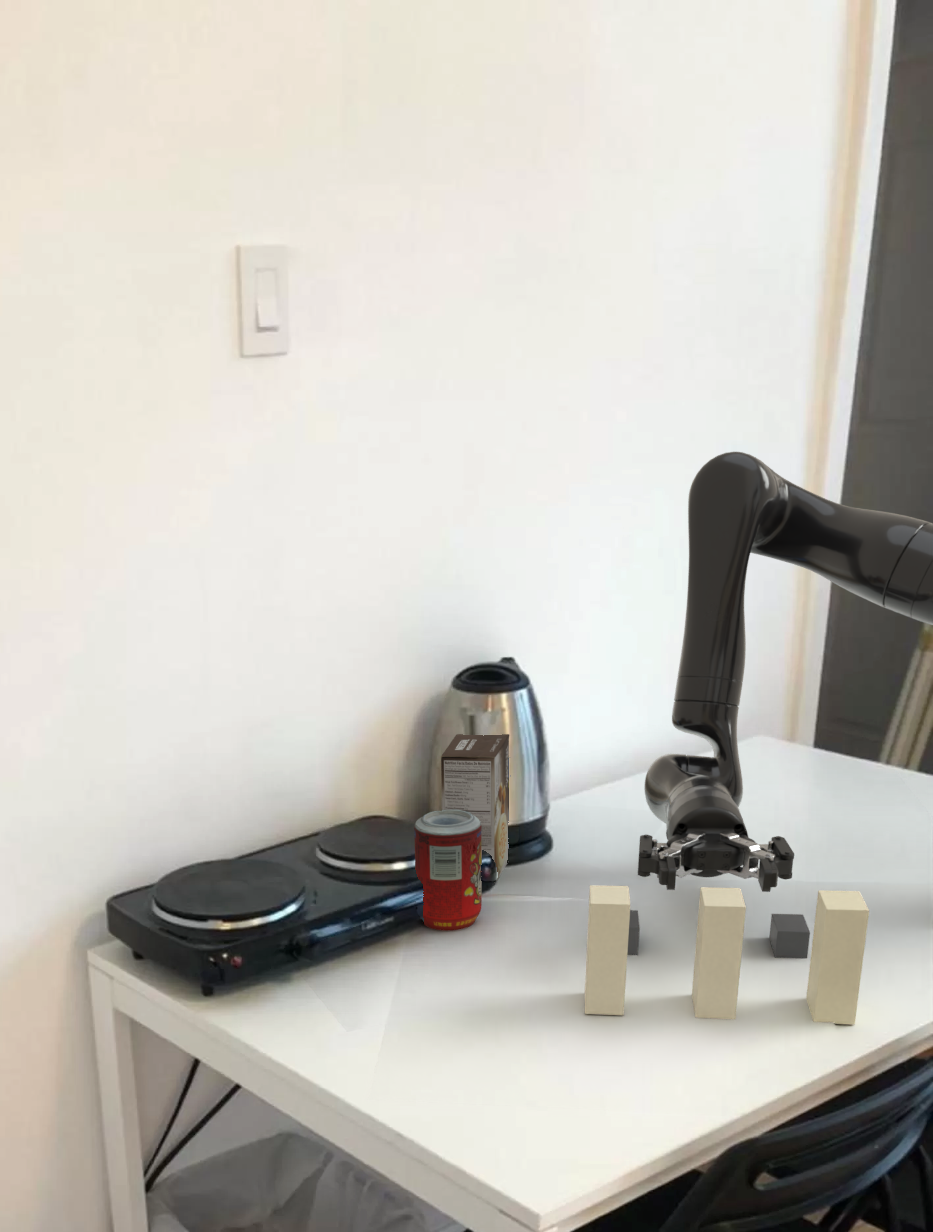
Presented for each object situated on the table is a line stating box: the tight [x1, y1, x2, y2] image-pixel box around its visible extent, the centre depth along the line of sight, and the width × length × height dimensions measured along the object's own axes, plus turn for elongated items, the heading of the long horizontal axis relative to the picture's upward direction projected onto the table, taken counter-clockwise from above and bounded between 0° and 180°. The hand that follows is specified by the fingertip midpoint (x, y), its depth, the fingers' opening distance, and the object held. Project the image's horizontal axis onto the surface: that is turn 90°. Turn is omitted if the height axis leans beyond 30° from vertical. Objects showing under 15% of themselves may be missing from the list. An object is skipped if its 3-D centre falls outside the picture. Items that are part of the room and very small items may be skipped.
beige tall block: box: [805, 889, 870, 1026], centre depth 134 cm, size 4×5×11 cm
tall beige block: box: [691, 886, 747, 1020], centre depth 137 cm, size 4×5×11 cm
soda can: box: [413, 809, 483, 932], centre depth 160 cm, size 7×7×12 cm
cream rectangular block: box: [584, 884, 631, 1016], centre depth 139 cm, size 4×5×11 cm
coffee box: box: [440, 733, 511, 882], centre depth 173 cm, size 9×6×16 cm
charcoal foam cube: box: [768, 913, 811, 959], centre depth 148 cm, size 3×5×4 cm, turn 167°
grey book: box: [627, 909, 641, 956], centre depth 152 cm, size 3×5×4 cm, turn 167°
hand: (719, 881), depth 140 cm, fingers open, 8 cm apart
